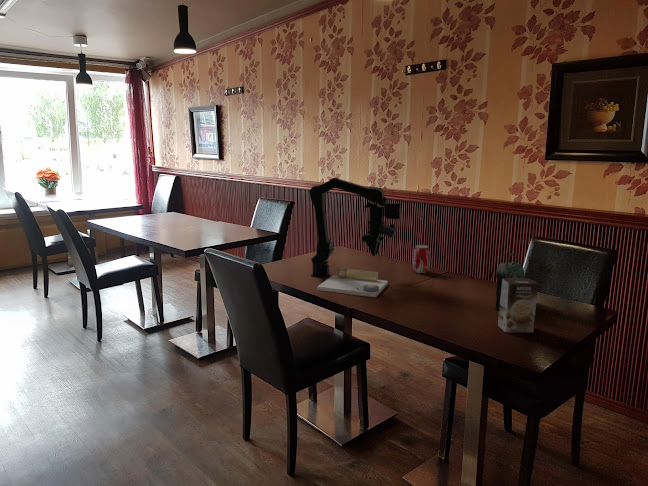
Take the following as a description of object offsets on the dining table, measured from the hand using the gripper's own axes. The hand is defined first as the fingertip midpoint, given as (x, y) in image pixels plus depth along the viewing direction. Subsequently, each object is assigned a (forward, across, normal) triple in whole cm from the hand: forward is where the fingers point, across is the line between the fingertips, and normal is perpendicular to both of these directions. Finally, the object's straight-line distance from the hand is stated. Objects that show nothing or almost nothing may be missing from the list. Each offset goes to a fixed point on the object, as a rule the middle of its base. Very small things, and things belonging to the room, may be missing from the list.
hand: (375, 254), depth 206 cm
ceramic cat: (+11, -12, -54) cm, 57 cm away
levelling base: (+11, -14, +5) cm, 18 cm away
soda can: (+11, +20, -16) cm, 28 cm away
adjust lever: (+9, -7, +6) cm, 13 cm away
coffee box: (+11, -36, -57) cm, 68 cm away
